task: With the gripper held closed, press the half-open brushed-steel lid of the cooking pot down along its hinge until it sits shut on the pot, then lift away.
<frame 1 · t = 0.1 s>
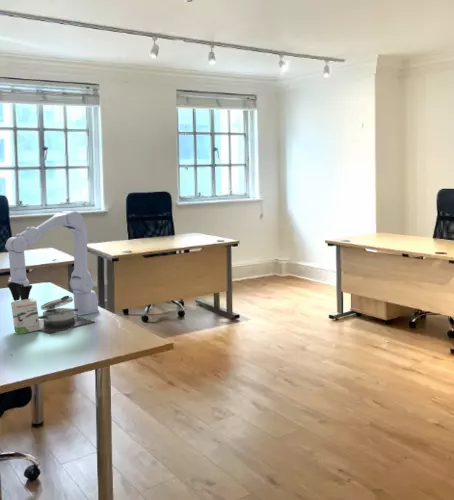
hand: (20, 301, 228), 10 cm above the table, fingers open, 7 cm apart
ink box: (27, 331, 222), on the table, touching cooking pot
cooking pot: (59, 323, 232), on the table
lid: (57, 302, 231), point 9 cm above the table, hinge at 25.0°
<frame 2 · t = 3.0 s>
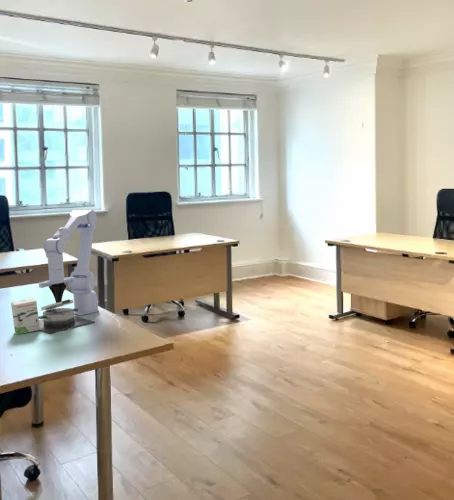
hand: (58, 302, 230), 9 cm above the table, fingers closed, pressing on lid
lid: (58, 303, 231), point 8 cm above the table, hinge at 18.9°, touching gripper
everything else where it was.
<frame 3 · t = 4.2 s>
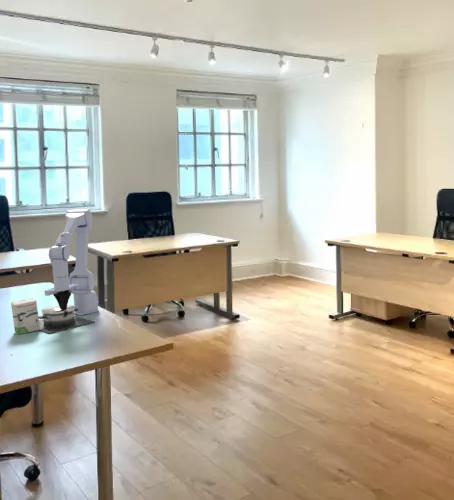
hand: (63, 310, 228), 6 cm above the table, fingers closed, pressing on lid
lid: (59, 309, 230), point 6 cm above the table, hinge at 1.0°, touching gripper
everything else where it was.
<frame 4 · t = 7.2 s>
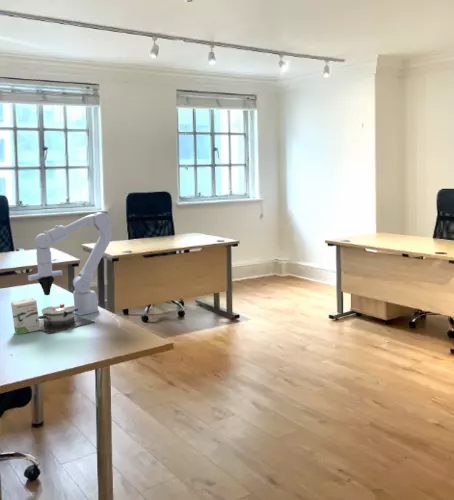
hand: (47, 294, 242), 9 cm above the table, fingers closed
lid: (59, 309, 230), point 6 cm above the table, hinge at 1.0°
everything else where it was.
at the end: lid at +1° (first picture: +25°); ink box moved 0.1 cm from its start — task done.
